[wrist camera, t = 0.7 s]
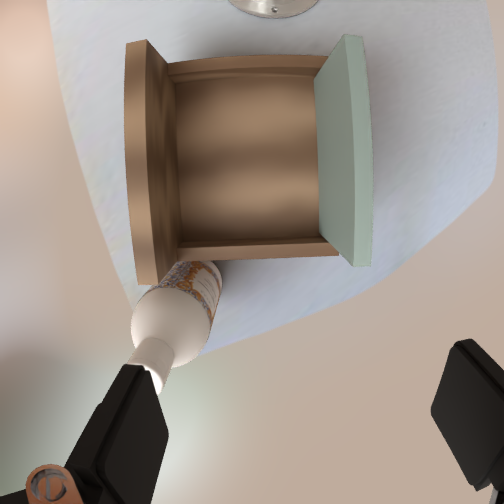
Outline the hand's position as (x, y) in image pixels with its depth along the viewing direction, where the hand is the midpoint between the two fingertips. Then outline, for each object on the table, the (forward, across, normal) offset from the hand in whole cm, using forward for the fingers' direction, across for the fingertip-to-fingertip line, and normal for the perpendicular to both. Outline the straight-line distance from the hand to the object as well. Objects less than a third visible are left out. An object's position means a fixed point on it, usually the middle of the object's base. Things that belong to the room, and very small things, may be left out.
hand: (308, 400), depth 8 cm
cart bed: (+29, +2, -7) cm, 30 cm away
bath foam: (+29, +9, +7) cm, 31 cm away
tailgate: (+23, -6, -7) cm, 25 cm away
